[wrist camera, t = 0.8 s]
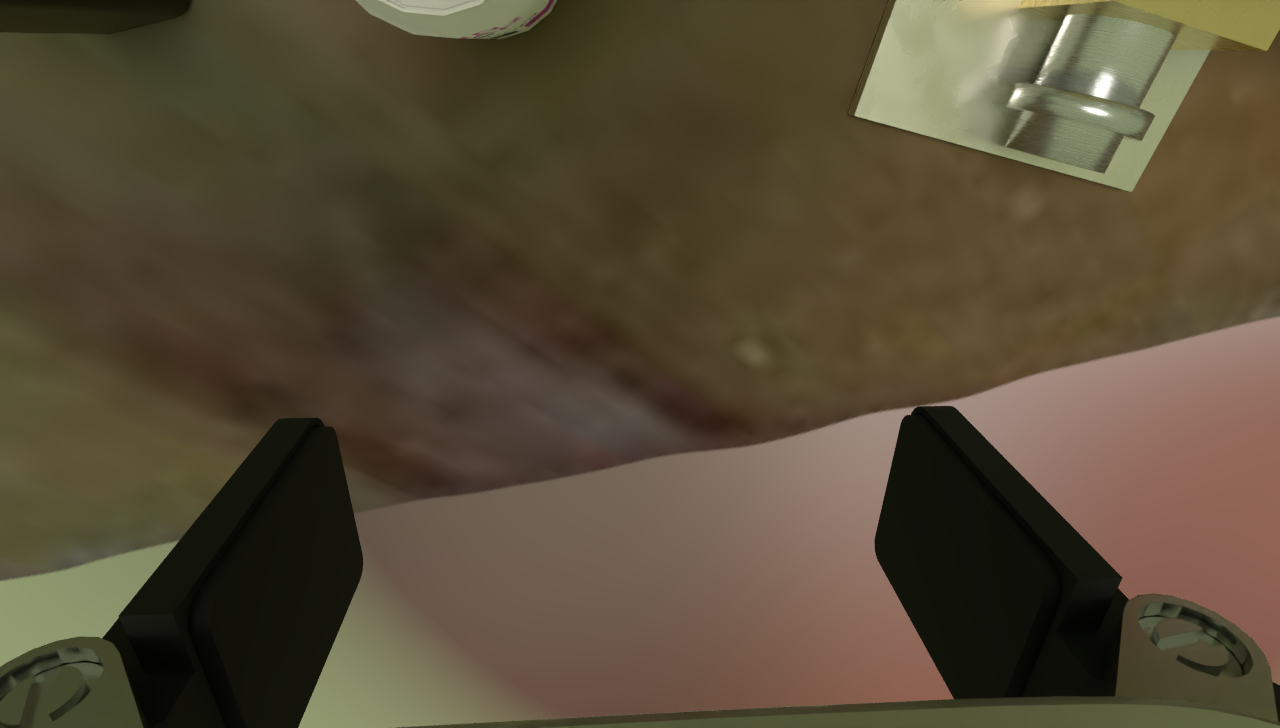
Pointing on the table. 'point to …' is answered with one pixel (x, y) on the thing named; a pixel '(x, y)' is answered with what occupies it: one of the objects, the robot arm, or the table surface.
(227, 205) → the table surface
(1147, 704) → the robot arm
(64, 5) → the wine bottle
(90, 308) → the table surface
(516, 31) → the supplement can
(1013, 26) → the valve
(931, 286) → the table surface
